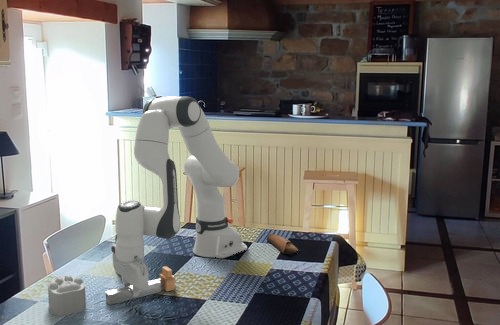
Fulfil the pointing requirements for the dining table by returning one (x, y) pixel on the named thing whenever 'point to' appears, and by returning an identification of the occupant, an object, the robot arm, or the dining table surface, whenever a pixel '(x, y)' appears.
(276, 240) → the brown tapered cylinder
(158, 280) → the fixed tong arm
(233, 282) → the dining table surface
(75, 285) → the lumpy-topped squat cylinder
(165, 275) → the collar
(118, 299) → the bar
